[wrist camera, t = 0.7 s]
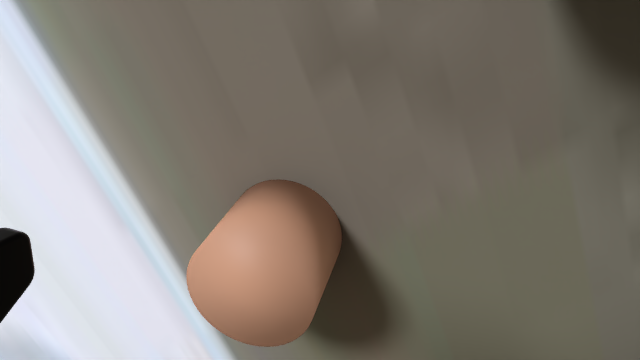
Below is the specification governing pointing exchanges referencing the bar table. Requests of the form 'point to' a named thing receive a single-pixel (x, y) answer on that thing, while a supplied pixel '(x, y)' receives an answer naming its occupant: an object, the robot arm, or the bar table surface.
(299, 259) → the peach rounded block
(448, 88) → the bar table surface
